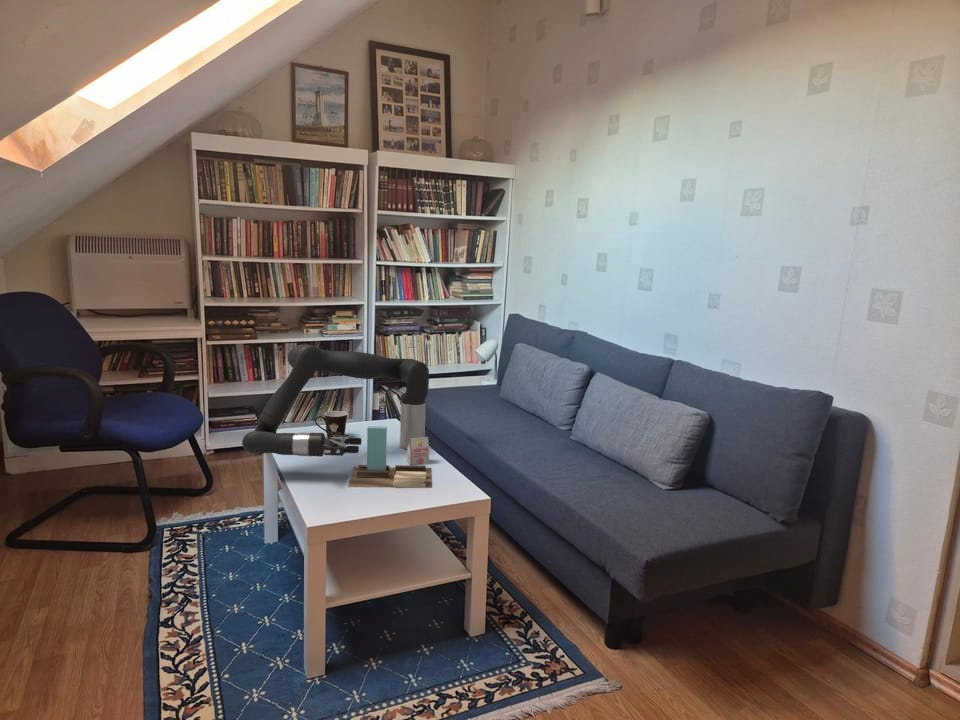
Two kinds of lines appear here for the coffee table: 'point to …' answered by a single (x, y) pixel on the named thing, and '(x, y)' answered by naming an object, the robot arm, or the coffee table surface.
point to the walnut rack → (385, 476)
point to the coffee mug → (334, 422)
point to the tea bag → (418, 451)
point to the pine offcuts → (409, 479)
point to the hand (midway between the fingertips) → (360, 445)
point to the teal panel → (376, 448)
